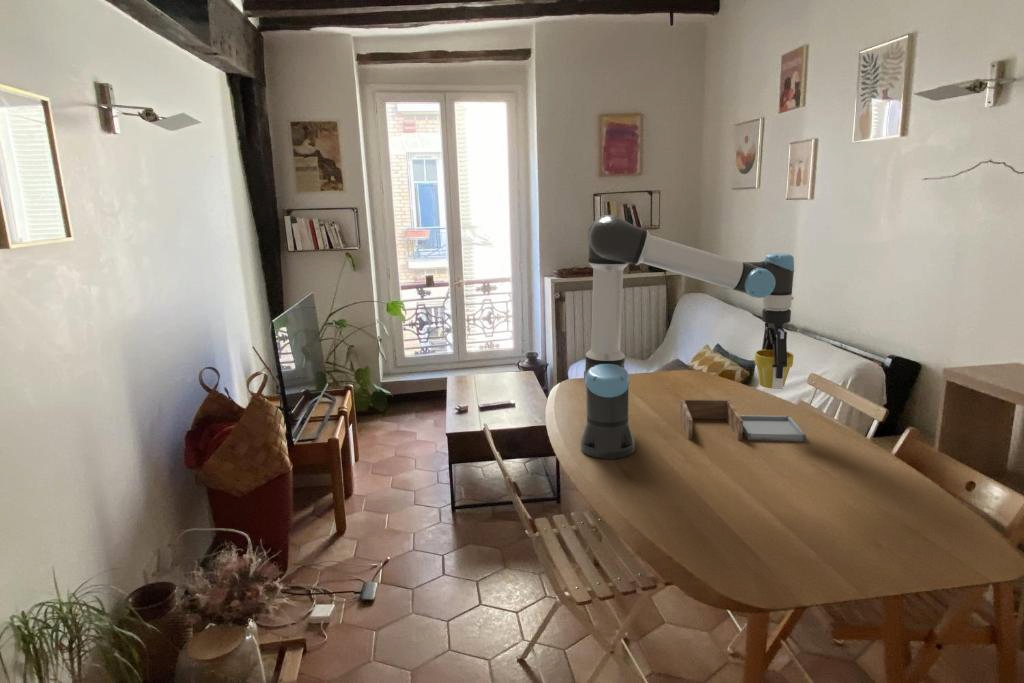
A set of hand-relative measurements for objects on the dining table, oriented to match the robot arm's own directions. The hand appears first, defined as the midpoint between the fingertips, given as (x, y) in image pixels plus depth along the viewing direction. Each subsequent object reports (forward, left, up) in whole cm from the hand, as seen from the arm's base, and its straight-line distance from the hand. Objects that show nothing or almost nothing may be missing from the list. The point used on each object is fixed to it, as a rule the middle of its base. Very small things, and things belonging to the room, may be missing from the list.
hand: (772, 383), depth 181 cm
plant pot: (0, 0, -1) cm, 1 cm away
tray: (0, 0, -15) cm, 15 cm away
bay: (+1, +17, -15) cm, 23 cm away
